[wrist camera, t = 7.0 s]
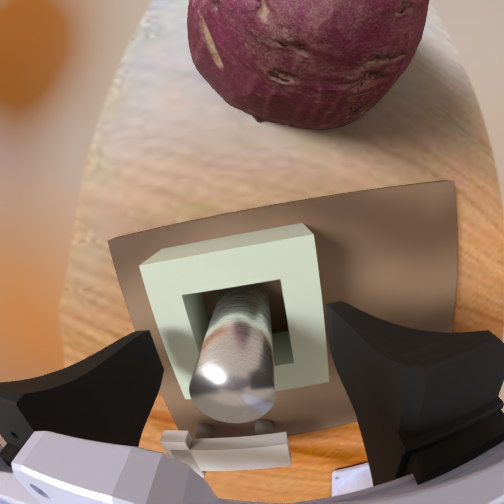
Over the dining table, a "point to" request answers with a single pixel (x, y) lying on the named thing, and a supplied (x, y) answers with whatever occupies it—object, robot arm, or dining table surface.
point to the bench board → (332, 290)
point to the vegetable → (304, 55)
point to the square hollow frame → (237, 274)
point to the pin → (236, 358)
